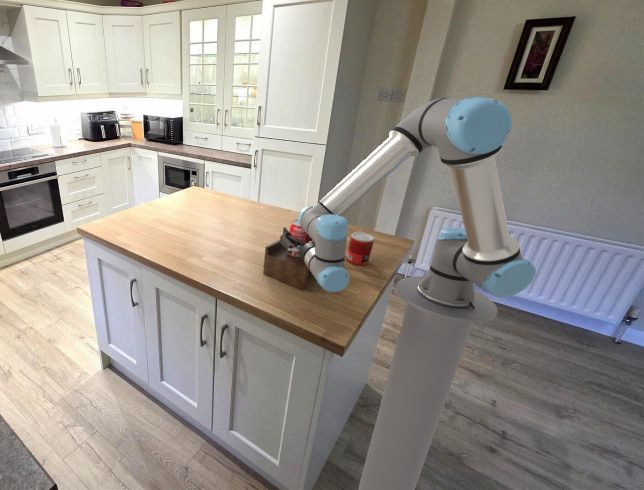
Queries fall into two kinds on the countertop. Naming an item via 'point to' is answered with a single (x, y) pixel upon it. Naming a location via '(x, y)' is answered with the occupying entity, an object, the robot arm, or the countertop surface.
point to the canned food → (360, 248)
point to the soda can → (298, 235)
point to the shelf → (285, 266)
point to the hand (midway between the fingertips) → (294, 231)
